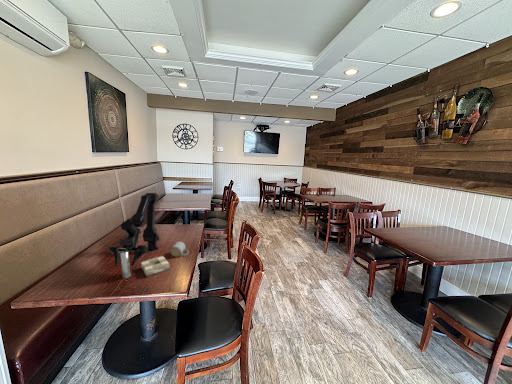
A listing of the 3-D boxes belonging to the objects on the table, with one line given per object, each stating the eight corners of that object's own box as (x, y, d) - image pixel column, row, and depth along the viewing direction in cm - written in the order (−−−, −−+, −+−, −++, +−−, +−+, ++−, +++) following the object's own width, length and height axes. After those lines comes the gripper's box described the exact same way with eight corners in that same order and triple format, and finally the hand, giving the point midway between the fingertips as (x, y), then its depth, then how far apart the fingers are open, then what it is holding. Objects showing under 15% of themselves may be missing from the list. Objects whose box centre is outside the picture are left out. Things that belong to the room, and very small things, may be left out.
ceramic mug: (169, 257, 134) (169, 246, 133) (174, 251, 142) (174, 241, 141) (186, 257, 134) (186, 246, 133) (190, 252, 142) (190, 241, 141)
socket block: (141, 268, 121) (140, 261, 120) (163, 261, 128) (162, 255, 128) (146, 277, 112) (146, 270, 111) (169, 269, 119) (169, 263, 119)
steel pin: (122, 276, 113) (119, 251, 111) (130, 273, 115) (127, 249, 113) (123, 279, 110) (120, 254, 108) (131, 276, 112) (128, 252, 110)
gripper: (108, 232, 112) (97, 261, 103) (144, 231, 113) (136, 260, 104) (118, 240, 121) (108, 267, 112) (151, 239, 122) (144, 266, 113)
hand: (124, 265), depth 110 cm, fingers open, 8 cm apart
